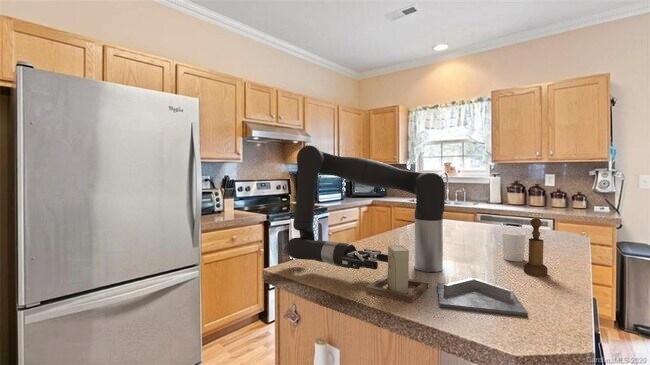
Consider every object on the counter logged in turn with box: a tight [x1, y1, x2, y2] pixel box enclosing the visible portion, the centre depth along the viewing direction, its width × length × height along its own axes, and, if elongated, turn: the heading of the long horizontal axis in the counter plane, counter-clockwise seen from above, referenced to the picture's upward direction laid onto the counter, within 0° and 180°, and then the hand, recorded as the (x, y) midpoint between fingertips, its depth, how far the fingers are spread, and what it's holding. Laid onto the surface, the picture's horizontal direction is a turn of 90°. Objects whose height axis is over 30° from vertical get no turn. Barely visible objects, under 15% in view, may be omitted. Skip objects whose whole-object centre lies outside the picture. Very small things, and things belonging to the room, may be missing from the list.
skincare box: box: [387, 244, 410, 294], centre depth 90 cm, size 6×4×12 cm
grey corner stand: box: [436, 277, 529, 318], centre depth 83 cm, size 16×19×4 cm
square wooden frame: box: [365, 274, 430, 304], centre depth 90 cm, size 13×13×2 cm
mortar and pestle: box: [523, 217, 548, 277], centre depth 104 cm, size 7×6×18 cm
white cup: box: [501, 230, 527, 263], centre depth 121 cm, size 8×8×10 cm
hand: (384, 262), depth 93 cm, fingers open, 8 cm apart
